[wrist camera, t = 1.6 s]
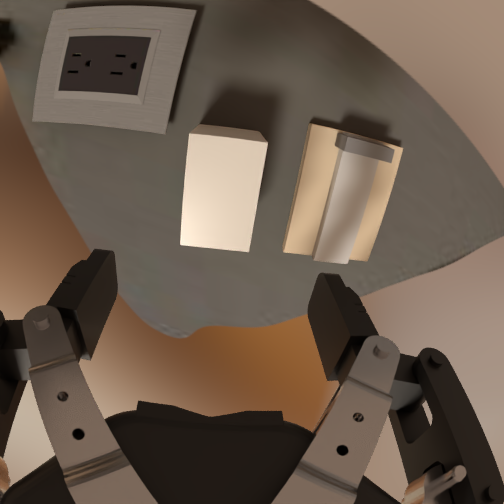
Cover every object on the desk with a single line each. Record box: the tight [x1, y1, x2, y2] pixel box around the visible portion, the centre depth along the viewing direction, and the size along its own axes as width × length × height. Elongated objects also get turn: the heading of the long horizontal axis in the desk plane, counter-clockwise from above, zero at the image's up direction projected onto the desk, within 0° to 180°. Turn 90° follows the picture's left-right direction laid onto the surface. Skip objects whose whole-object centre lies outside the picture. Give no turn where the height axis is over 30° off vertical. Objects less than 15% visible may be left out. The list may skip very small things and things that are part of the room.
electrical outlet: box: [32, 6, 197, 134], centre depth 19 cm, size 13×10×2 cm
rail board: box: [282, 123, 403, 264], centre depth 26 cm, size 9×12×3 cm
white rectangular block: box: [180, 124, 268, 252], centre depth 23 cm, size 8×5×6 cm, turn 171°
